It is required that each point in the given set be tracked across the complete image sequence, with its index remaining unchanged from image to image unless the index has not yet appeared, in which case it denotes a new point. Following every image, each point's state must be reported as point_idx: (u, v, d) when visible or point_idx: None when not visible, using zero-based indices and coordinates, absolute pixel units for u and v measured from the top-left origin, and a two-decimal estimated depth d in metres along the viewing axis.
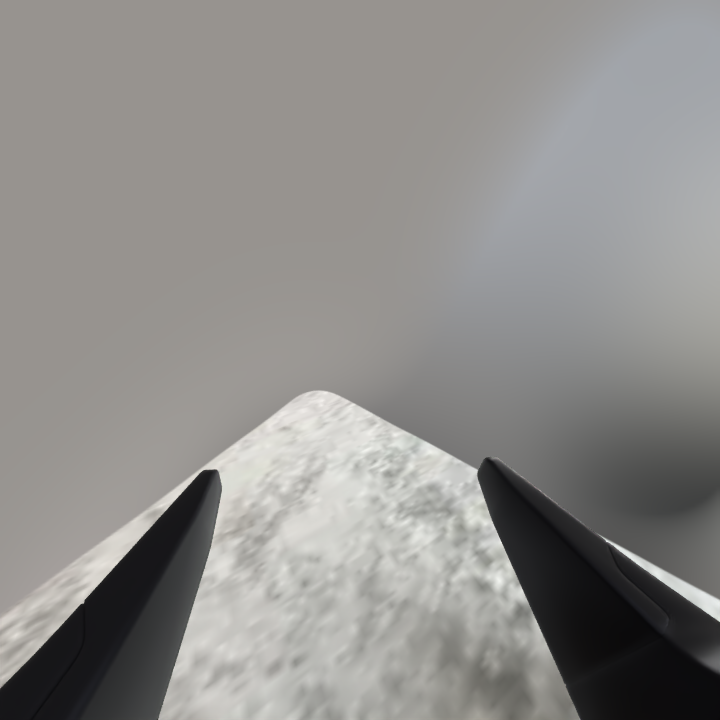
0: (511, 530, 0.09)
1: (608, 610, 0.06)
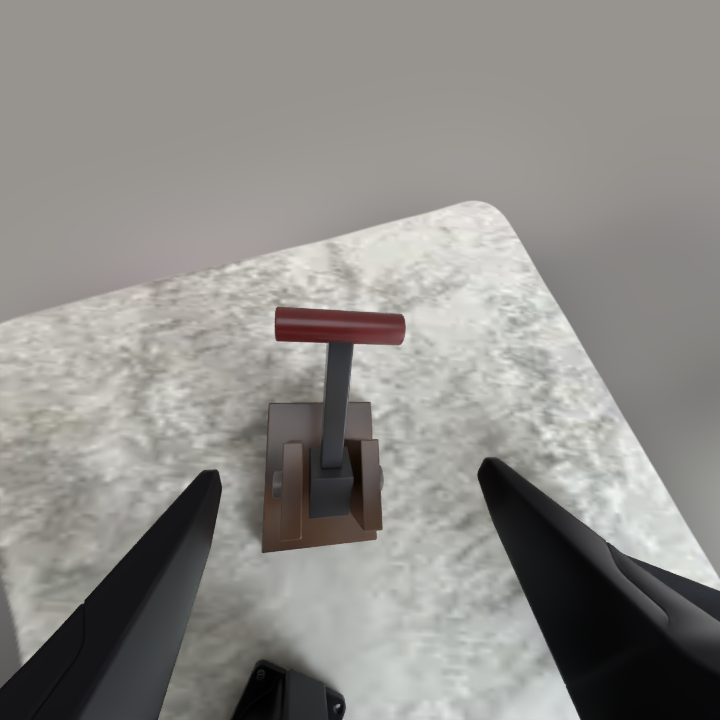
0: (511, 530, 0.09)
1: (607, 610, 0.06)
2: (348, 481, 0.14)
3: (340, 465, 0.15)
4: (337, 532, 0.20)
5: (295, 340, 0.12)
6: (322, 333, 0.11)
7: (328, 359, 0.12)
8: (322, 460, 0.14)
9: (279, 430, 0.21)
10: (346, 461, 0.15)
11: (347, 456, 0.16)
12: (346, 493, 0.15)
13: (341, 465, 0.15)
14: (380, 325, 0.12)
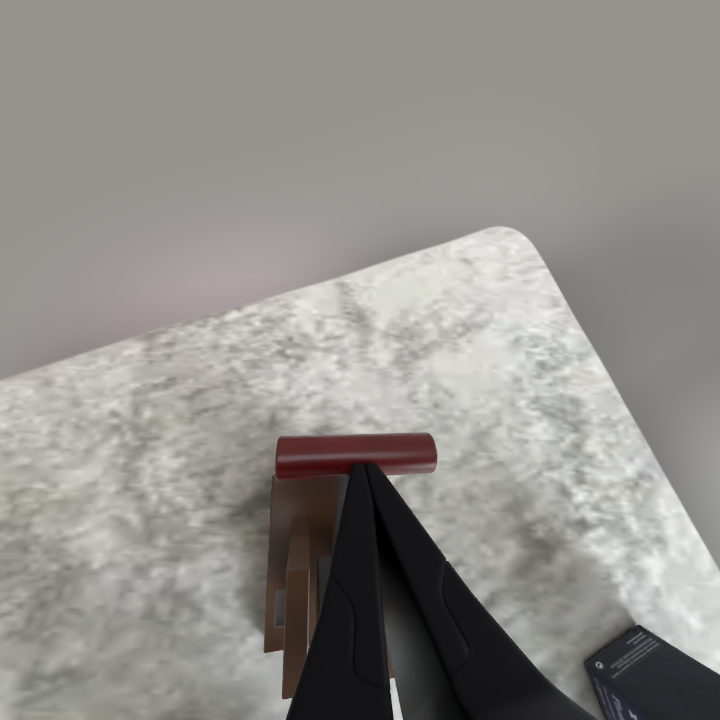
0: None
1: (421, 643, 0.05)
2: None
3: None
4: None
5: (301, 479, 0.09)
6: (334, 473, 0.09)
7: (341, 494, 0.10)
8: None
9: (283, 507, 0.19)
10: None
11: None
12: None
13: None
14: (406, 458, 0.10)
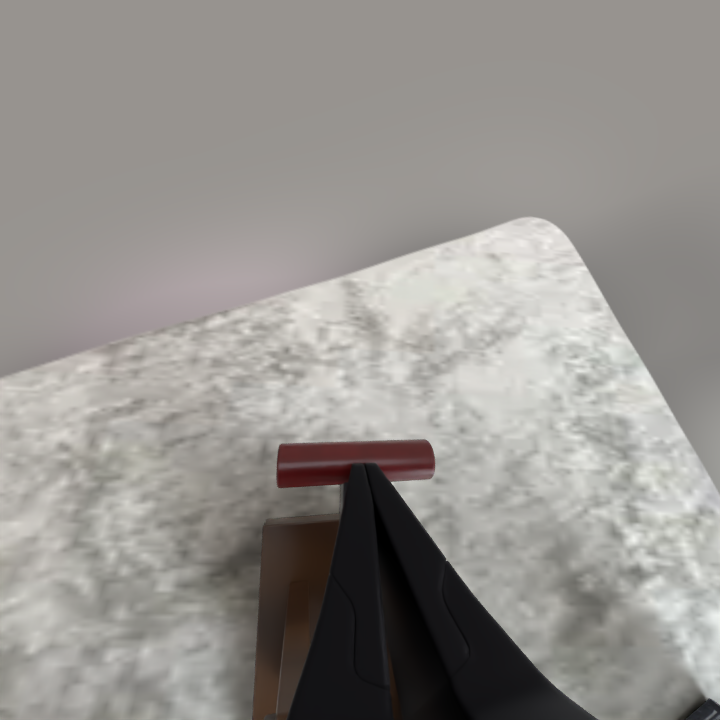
0: None
1: (420, 642, 0.05)
2: None
3: None
4: None
5: (301, 484, 0.09)
6: (334, 471, 0.09)
7: None
8: None
9: (277, 566, 0.15)
10: None
11: None
12: None
13: None
14: (404, 455, 0.10)
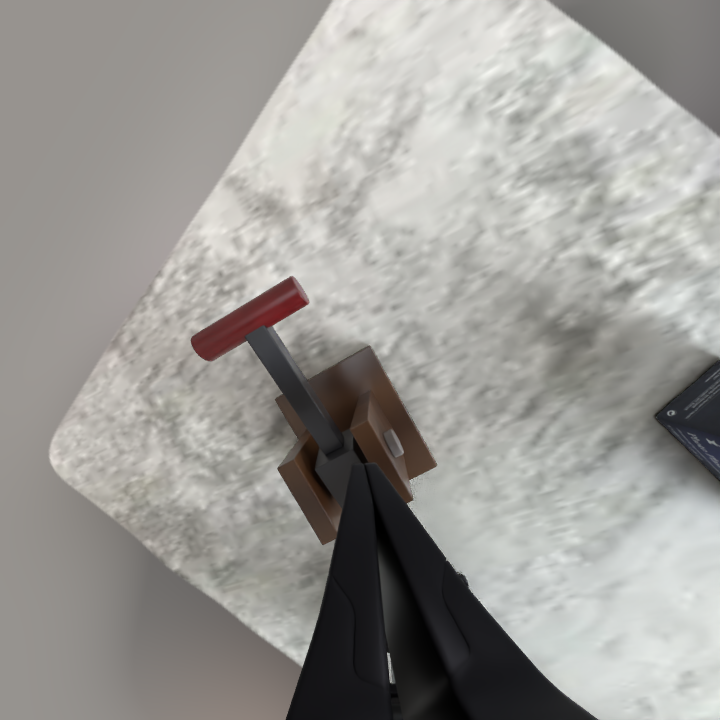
0: None
1: (420, 642, 0.05)
2: (350, 455, 0.13)
3: (342, 445, 0.14)
4: None
5: (219, 351, 0.13)
6: (230, 332, 0.12)
7: (255, 352, 0.13)
8: (320, 447, 0.14)
9: (297, 417, 0.20)
10: (349, 439, 0.14)
11: (351, 434, 0.15)
12: None
13: (342, 443, 0.14)
14: (271, 295, 0.12)
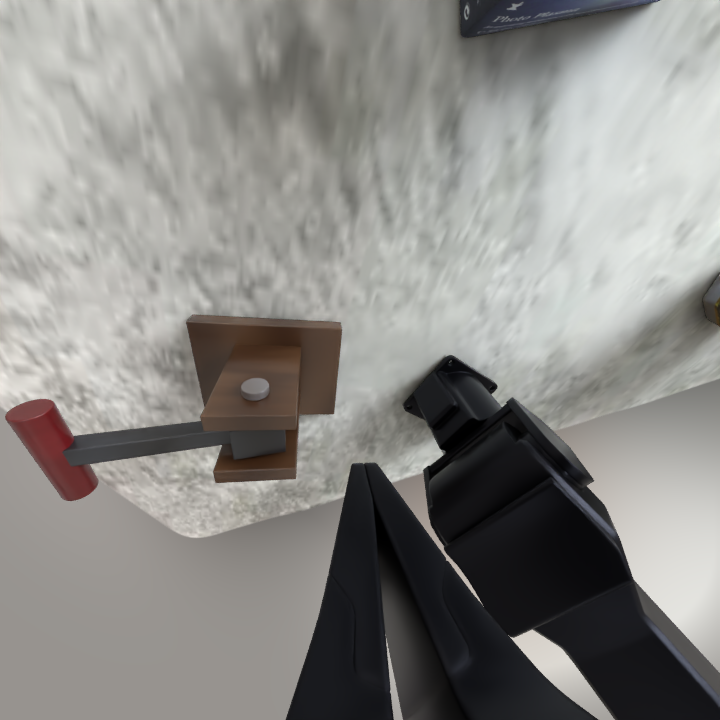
0: None
1: (421, 642, 0.05)
2: (234, 434, 0.14)
3: None
4: (328, 363, 0.21)
5: (83, 484, 0.14)
6: (59, 477, 0.13)
7: (94, 462, 0.14)
8: (222, 444, 0.15)
9: None
10: None
11: None
12: (251, 432, 0.15)
13: None
14: (23, 440, 0.12)
